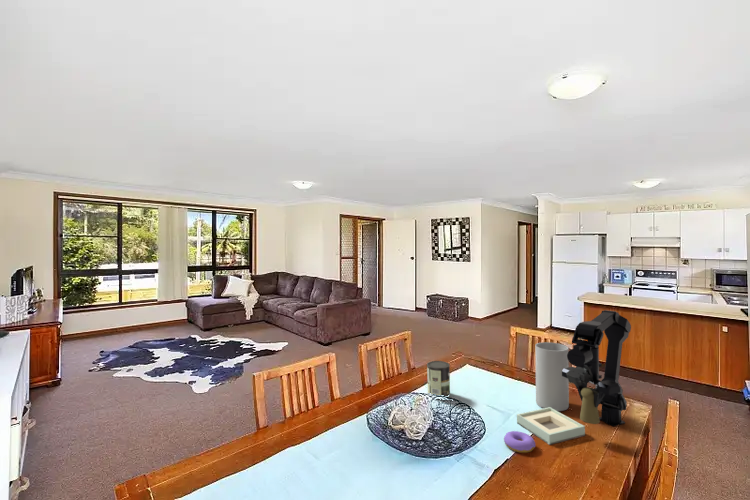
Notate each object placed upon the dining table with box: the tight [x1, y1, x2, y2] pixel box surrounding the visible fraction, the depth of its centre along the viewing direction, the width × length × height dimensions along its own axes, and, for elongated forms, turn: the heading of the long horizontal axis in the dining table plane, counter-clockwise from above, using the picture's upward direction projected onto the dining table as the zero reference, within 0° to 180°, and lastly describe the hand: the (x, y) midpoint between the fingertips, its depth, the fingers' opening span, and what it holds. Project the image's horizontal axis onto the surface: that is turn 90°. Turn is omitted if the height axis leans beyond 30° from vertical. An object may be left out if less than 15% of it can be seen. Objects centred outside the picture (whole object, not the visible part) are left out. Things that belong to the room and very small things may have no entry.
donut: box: [503, 430, 536, 454], centre depth 126 cm, size 10×9×5 cm
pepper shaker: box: [579, 386, 601, 425], centre depth 129 cm, size 6×6×11 cm
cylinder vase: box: [534, 341, 570, 412], centre depth 155 cm, size 12×12×25 cm
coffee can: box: [426, 360, 451, 396], centre depth 168 cm, size 10×10×14 cm
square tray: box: [516, 407, 586, 446], centre depth 136 cm, size 16×16×4 cm
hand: (589, 404), depth 129 cm, fingers closed on pepper shaker, 5 cm apart
